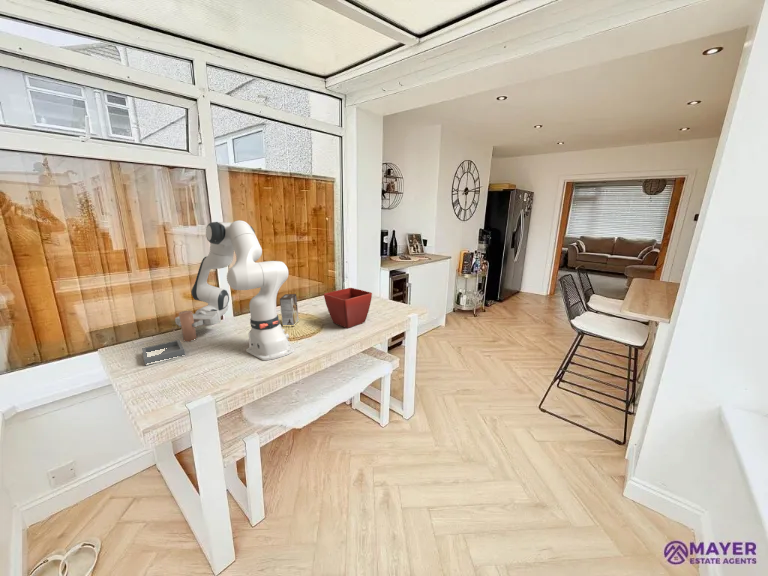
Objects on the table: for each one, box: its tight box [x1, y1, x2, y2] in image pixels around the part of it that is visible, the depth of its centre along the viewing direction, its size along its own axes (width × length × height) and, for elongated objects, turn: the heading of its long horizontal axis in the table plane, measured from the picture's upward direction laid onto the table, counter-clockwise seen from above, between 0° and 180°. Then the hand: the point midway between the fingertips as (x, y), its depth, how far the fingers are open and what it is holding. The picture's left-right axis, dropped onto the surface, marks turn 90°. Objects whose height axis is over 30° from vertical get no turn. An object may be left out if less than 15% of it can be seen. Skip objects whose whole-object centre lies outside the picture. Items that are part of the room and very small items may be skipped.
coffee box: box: [279, 293, 300, 326], centre depth 172 cm, size 9×6×16 cm
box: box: [141, 339, 186, 365], centre depth 139 cm, size 14×14×3 cm
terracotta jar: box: [178, 310, 198, 342], centre depth 154 cm, size 6×6×14 cm
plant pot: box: [323, 287, 373, 329], centre depth 172 cm, size 19×19×17 cm
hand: (186, 325), depth 153 cm, fingers closed on terracotta jar, 5 cm apart
